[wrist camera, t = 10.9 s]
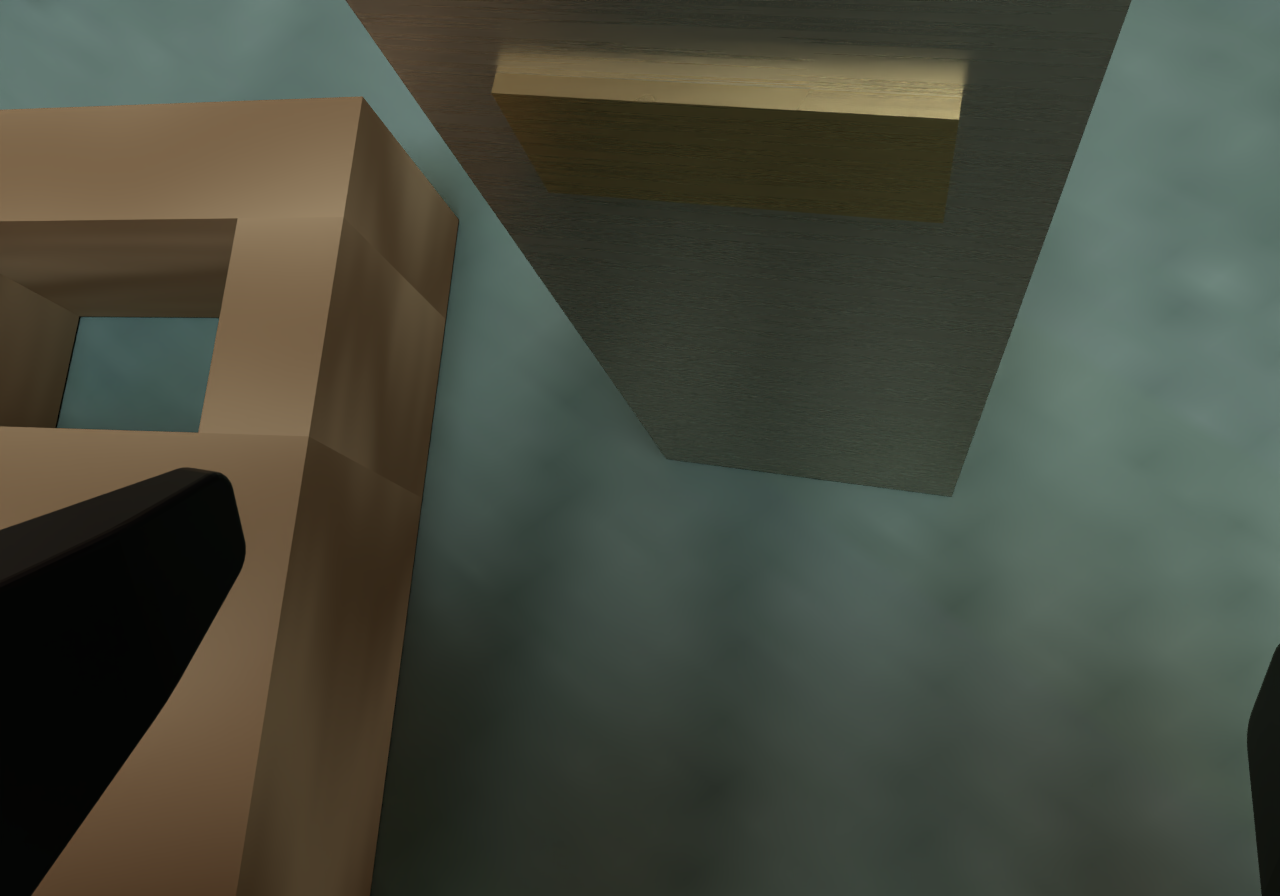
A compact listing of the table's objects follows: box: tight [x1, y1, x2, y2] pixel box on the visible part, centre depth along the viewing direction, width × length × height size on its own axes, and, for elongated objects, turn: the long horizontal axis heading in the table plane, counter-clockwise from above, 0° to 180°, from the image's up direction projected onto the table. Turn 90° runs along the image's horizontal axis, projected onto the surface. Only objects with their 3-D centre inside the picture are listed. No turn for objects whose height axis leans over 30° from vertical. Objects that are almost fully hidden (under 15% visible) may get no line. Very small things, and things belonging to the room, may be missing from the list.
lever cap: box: [346, 0, 1132, 497], centre depth 12 cm, size 2×4×12 cm, turn 80°
